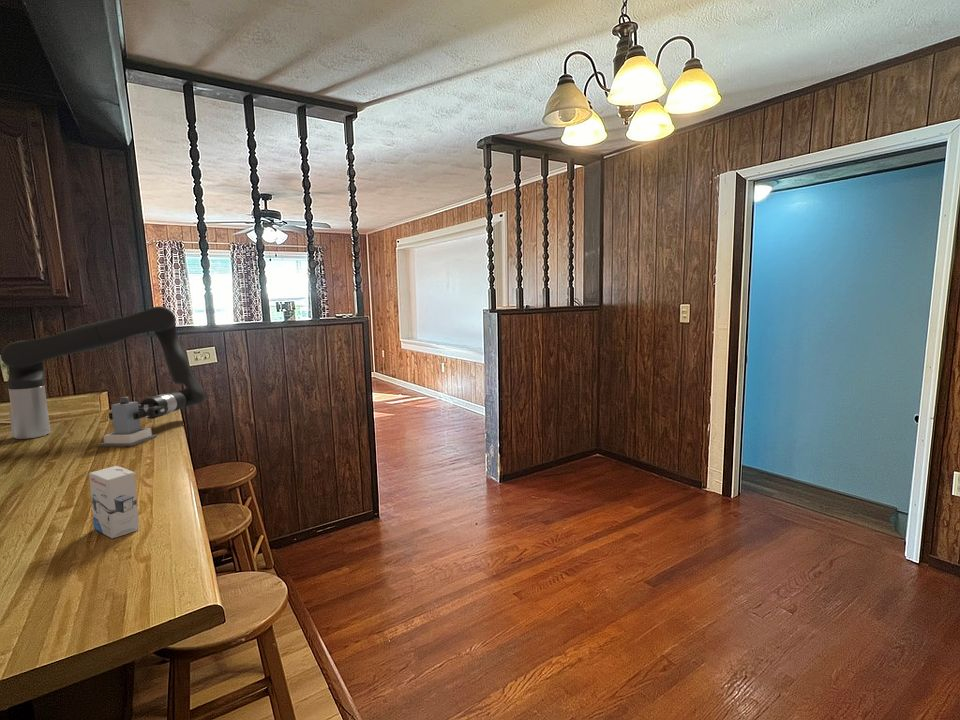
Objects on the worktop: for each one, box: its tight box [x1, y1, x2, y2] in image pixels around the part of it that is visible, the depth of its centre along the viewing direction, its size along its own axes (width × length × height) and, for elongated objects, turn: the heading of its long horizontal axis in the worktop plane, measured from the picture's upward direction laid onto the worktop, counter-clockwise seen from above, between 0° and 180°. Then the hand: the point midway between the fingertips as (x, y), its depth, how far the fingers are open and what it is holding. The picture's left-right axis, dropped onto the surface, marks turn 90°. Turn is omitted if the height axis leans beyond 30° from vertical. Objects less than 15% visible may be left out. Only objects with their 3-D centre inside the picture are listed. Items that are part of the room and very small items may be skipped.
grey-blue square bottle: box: [110, 396, 142, 435], centre depth 160 cm, size 5×5×14 cm
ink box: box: [88, 465, 140, 539], centre depth 97 cm, size 9×5×12 cm, turn 58°
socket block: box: [98, 427, 158, 447], centre depth 161 cm, size 11×11×3 cm
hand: (122, 416), depth 159 cm, fingers open, 8 cm apart
